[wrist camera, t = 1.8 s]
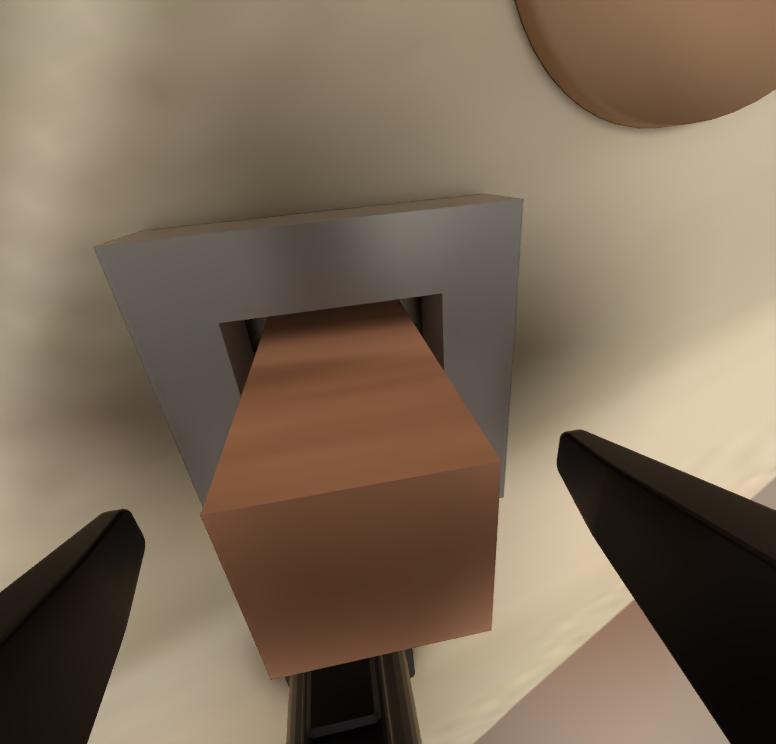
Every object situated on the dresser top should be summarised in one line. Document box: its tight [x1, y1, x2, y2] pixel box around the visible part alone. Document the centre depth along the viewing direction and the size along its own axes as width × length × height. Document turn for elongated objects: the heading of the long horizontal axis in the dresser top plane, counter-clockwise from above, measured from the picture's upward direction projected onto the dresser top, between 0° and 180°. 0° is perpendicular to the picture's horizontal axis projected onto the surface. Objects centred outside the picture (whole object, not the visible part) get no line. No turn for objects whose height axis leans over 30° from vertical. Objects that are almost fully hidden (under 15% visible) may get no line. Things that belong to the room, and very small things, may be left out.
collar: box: [94, 194, 523, 506], centre depth 12 cm, size 10×10×2 cm
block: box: [200, 299, 501, 680], centre depth 10 cm, size 4×4×8 cm
